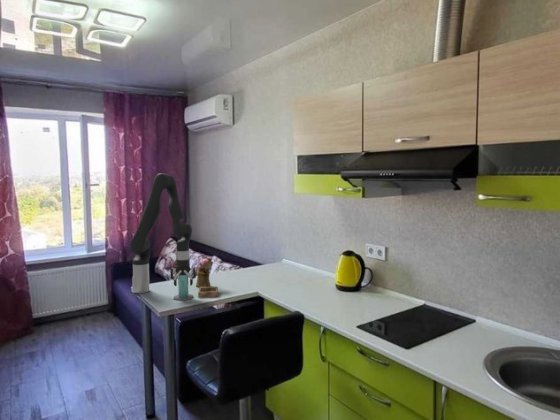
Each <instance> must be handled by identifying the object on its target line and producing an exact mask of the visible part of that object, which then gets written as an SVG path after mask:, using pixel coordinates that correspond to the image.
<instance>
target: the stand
mask: <svg viewBox="0 0 560 420" xmlns="http://www.w3.org/2000/svg"><path fill="white" fill-rule="evenodd" d="M197 293H198V294H197V296H198V298H218V296H219V295H218V293H219V287H218V286H209V287H200V288H199V287H198V292H197Z"/></svg>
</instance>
